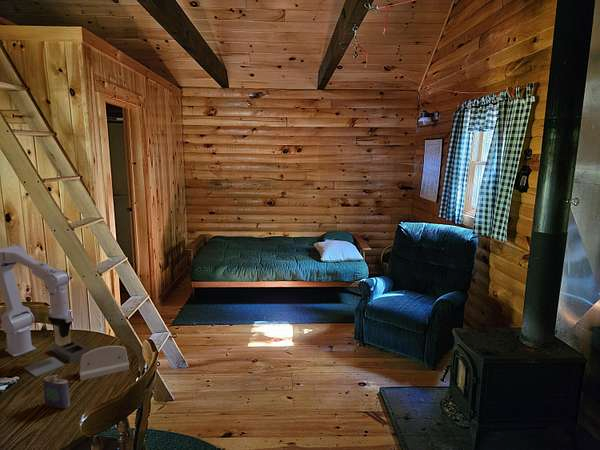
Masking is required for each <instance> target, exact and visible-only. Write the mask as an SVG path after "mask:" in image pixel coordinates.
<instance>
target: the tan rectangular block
mask: <svg viewBox="0 0 600 450" xmlns="http://www.w3.org/2000/svg"><path fill="white" fill-rule="evenodd" d="M53 333H54V334H53V335H54V340H55V341H54V342H55V343H54V344H57V345H59V346H63V345H66V344H68V343H71V338H72V337H71V335H72V334H71V328H70V329H69V334H68V336H66V337H63V338H62V337H61V334H60V330H59V327H58V325H57V324H54V328H53Z"/></svg>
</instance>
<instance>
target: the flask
mask: <svg viewBox="0 0 600 450" xmlns="http://www.w3.org/2000/svg"><path fill="white" fill-rule="evenodd" d="M58 377H59V375H58V374H57V373H56V374H52V375H49V376H45V377H44V378H43V379H42V382H43V392H44V393H43V396H44V406H46V407H49V408H53V409H59V410H67V409H68V408H69V407H71V401H70V391H69V380H68V379H62V378H58Z"/></svg>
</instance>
